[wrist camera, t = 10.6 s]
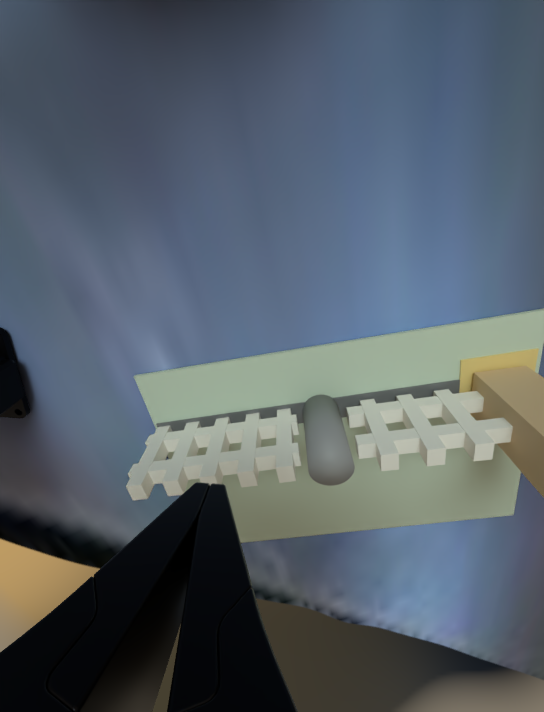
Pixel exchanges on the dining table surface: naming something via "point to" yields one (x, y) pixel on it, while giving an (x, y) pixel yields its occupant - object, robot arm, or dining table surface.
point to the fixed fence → (246, 450)
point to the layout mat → (347, 387)
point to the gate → (461, 423)
